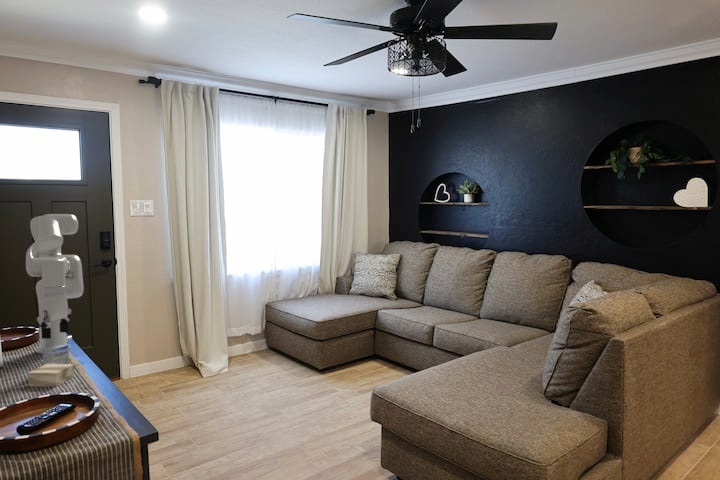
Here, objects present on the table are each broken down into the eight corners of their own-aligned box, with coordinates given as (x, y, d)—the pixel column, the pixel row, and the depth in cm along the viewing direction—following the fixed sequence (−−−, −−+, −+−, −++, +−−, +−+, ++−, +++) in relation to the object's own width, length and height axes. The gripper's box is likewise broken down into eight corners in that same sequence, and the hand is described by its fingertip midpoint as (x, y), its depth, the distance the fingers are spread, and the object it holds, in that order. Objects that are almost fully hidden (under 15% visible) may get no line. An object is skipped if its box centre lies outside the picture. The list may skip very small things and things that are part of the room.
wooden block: (47, 376, 176) (47, 363, 176) (74, 377, 176) (73, 364, 176) (28, 386, 166) (27, 372, 166) (56, 387, 166) (56, 373, 166)
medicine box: (52, 373, 179) (52, 350, 179) (42, 372, 180) (42, 349, 180) (69, 366, 187) (68, 344, 187) (59, 365, 188) (59, 344, 187)
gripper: (60, 287, 190) (61, 329, 191) (27, 294, 173) (29, 340, 174) (78, 287, 190) (79, 330, 191) (47, 294, 173) (48, 341, 173)
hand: (55, 335), depth 182 cm, fingers open, 9 cm apart
